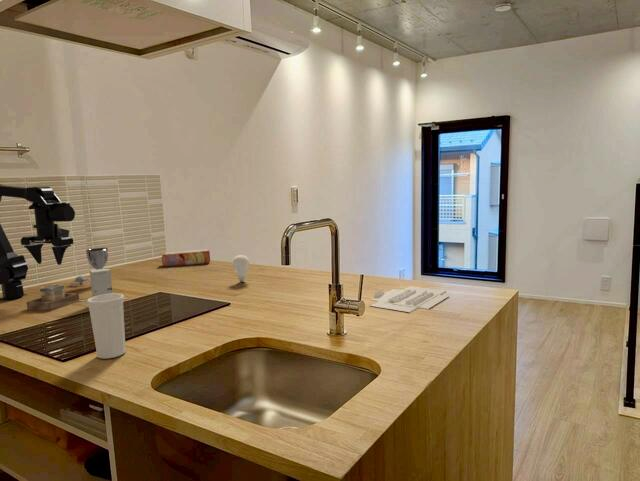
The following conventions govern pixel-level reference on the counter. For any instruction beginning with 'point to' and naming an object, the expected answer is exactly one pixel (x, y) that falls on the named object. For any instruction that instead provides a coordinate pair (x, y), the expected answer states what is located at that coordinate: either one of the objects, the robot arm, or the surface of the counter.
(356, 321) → the counter surface
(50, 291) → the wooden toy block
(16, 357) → the counter surface
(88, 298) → the card
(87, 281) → the dish
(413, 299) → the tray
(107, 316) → the cup
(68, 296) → the open box
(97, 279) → the skincare box
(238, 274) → the light bulb
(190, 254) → the snack package
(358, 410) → the counter surface
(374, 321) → the counter surface
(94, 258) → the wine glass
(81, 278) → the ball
